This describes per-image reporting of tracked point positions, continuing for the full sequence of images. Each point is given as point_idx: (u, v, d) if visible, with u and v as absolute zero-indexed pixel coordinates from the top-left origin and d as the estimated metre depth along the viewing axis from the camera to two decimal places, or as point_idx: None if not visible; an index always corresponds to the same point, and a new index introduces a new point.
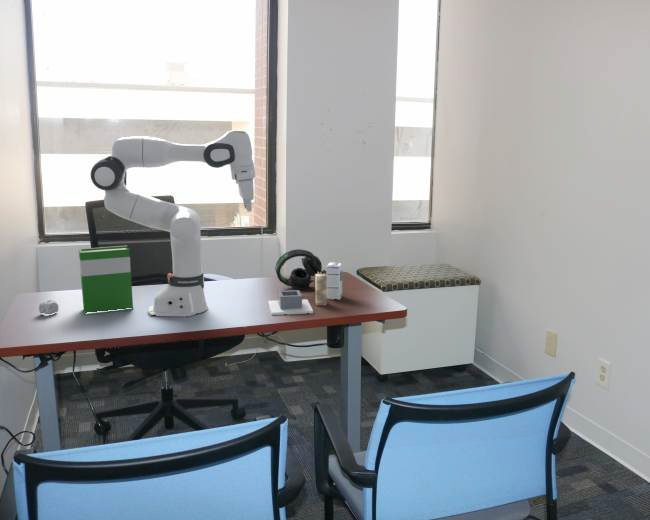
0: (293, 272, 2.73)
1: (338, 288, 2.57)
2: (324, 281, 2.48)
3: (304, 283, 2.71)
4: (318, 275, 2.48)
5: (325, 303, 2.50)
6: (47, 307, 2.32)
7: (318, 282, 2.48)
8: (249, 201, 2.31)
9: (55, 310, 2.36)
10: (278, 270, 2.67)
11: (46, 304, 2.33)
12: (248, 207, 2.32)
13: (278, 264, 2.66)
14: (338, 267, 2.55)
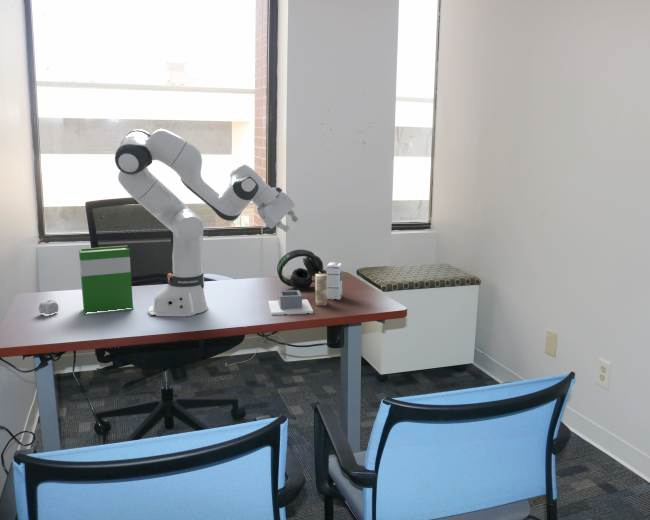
0: (294, 272, 2.73)
1: (338, 288, 2.57)
2: (324, 281, 2.48)
3: (306, 283, 2.71)
4: (318, 275, 2.48)
5: (325, 303, 2.50)
6: (47, 307, 2.32)
7: (318, 282, 2.48)
8: None
9: (55, 310, 2.36)
10: (280, 270, 2.66)
11: (46, 304, 2.33)
12: None
13: (280, 264, 2.65)
14: (338, 267, 2.55)
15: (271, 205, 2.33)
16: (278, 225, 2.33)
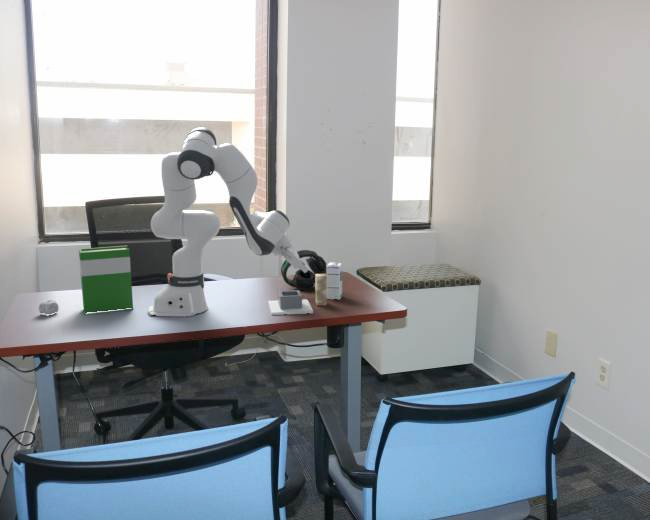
0: (298, 273, 2.72)
1: (338, 288, 2.57)
2: (324, 281, 2.48)
3: (310, 284, 2.70)
4: (318, 275, 2.48)
5: (325, 303, 2.50)
6: (47, 307, 2.32)
7: (318, 282, 2.48)
8: None
9: (55, 310, 2.36)
10: (285, 271, 2.64)
11: (46, 304, 2.33)
12: None
13: (285, 265, 2.64)
14: (338, 267, 2.55)
15: (289, 248, 2.40)
16: (299, 266, 2.39)
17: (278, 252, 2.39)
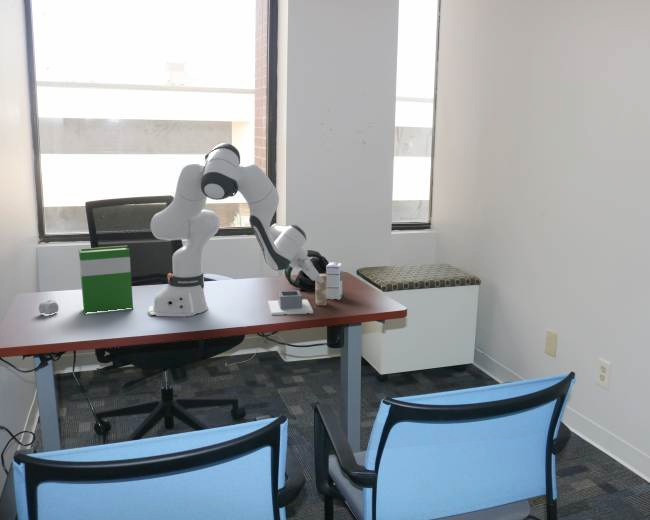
0: (301, 273, 2.71)
1: (338, 288, 2.57)
2: (324, 281, 2.48)
3: (313, 284, 2.70)
4: None
5: (325, 303, 2.50)
6: (47, 307, 2.32)
7: (318, 282, 2.48)
8: None
9: (55, 310, 2.36)
10: (289, 272, 2.63)
11: (46, 304, 2.33)
12: None
13: (289, 266, 2.62)
14: (338, 267, 2.55)
15: (306, 260, 2.43)
16: None
17: (295, 264, 2.43)
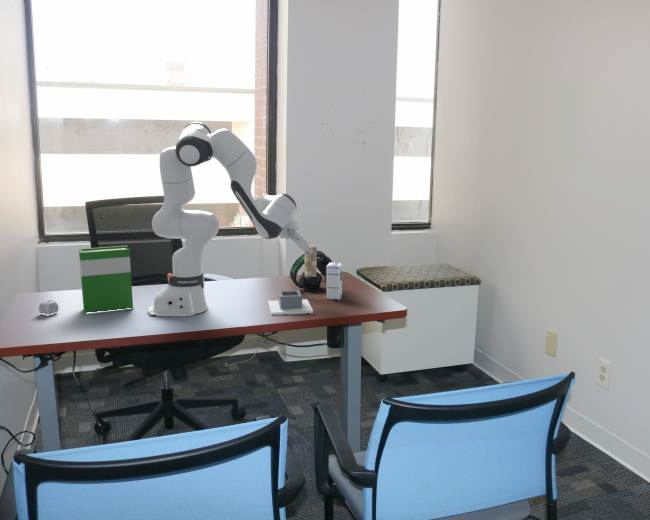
0: None
1: (338, 288, 2.57)
2: (313, 252, 2.45)
3: (318, 284, 2.70)
4: None
5: (315, 275, 2.47)
6: (47, 307, 2.32)
7: (308, 253, 2.45)
8: None
9: (55, 310, 2.36)
10: (295, 273, 2.62)
11: (46, 304, 2.33)
12: None
13: (296, 267, 2.61)
14: (338, 267, 2.55)
15: (296, 230, 2.40)
16: None
17: (285, 235, 2.40)
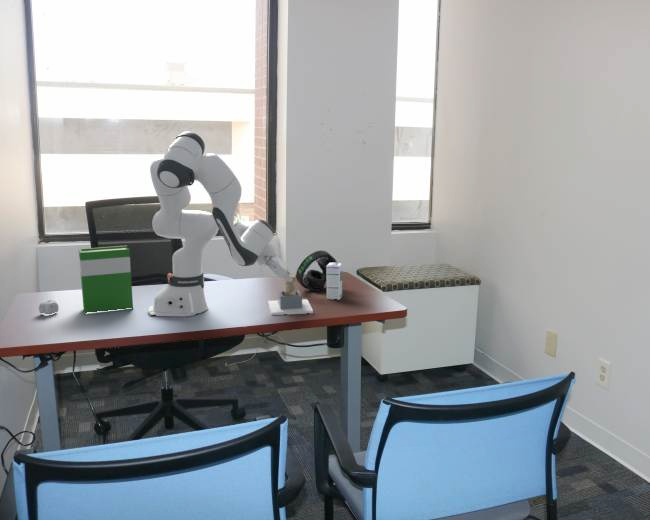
0: (310, 274, 2.69)
1: (338, 288, 2.57)
2: (292, 282, 2.42)
3: (323, 284, 2.70)
4: None
5: None
6: (47, 307, 2.32)
7: (286, 283, 2.41)
8: None
9: (55, 310, 2.36)
10: (303, 273, 2.61)
11: (46, 304, 2.33)
12: None
13: (303, 267, 2.60)
14: (338, 267, 2.55)
15: (274, 257, 2.37)
16: (284, 275, 2.36)
17: (262, 261, 2.36)
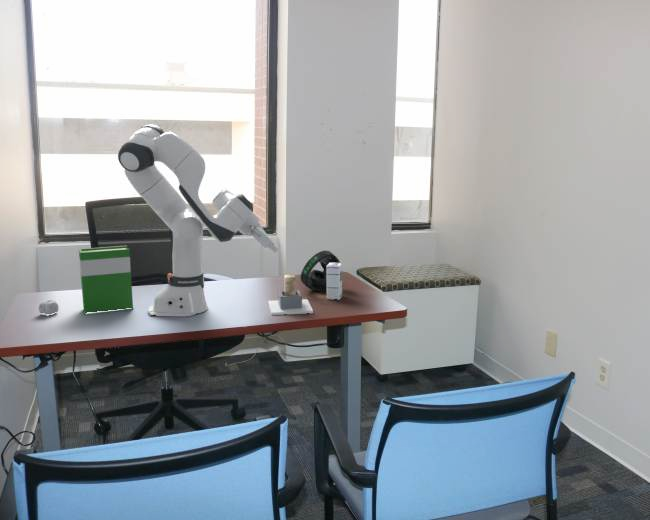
0: (313, 274, 2.69)
1: (338, 288, 2.57)
2: (292, 282, 2.42)
3: (326, 284, 2.70)
4: (287, 276, 2.42)
5: None
6: (47, 307, 2.32)
7: (286, 283, 2.41)
8: None
9: (55, 310, 2.36)
10: (308, 274, 2.60)
11: (46, 304, 2.33)
12: None
13: (308, 268, 2.60)
14: (338, 267, 2.55)
15: (258, 227, 2.34)
16: (269, 245, 2.34)
17: (247, 231, 2.34)
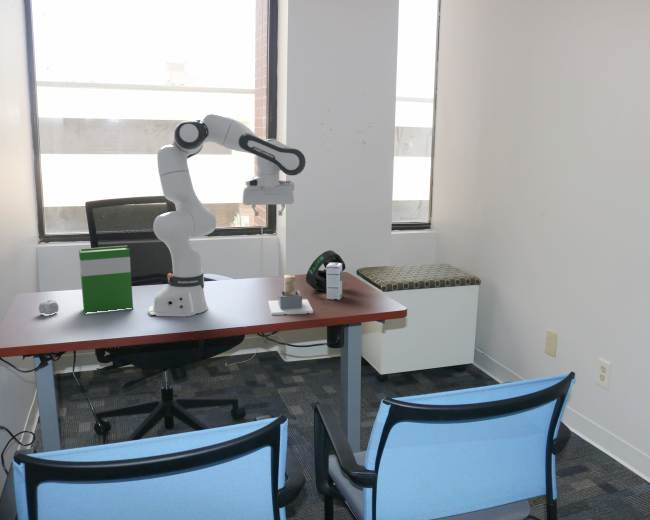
0: (317, 275, 2.69)
1: (338, 288, 2.57)
2: (292, 282, 2.42)
3: None
4: (287, 276, 2.42)
5: None
6: (47, 307, 2.32)
7: (286, 283, 2.41)
8: None
9: (55, 310, 2.36)
10: (314, 274, 2.60)
11: (46, 304, 2.33)
12: (254, 211, 2.47)
13: (314, 268, 2.59)
14: (338, 267, 2.55)
15: None
16: (284, 205, 2.48)
17: (278, 183, 2.44)
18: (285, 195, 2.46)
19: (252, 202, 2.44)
